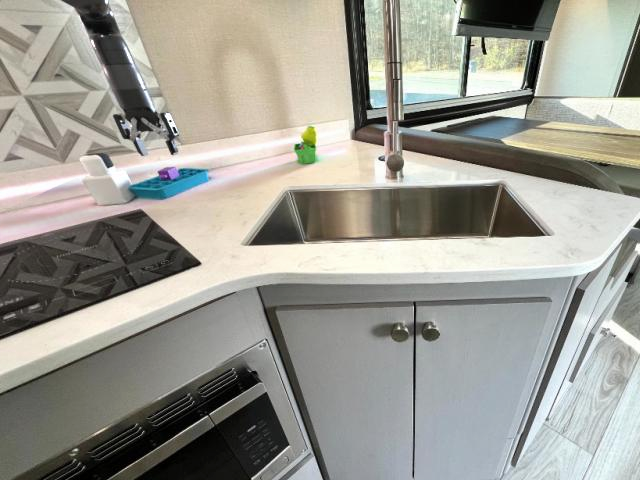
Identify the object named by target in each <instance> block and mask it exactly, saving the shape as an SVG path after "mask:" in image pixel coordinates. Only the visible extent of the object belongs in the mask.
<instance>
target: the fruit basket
mask: <svg viewBox="0 0 640 480" xmlns="http://www.w3.org/2000/svg"><path fill="white" fill-rule="evenodd" d="M317 135H318V132H317V130H316V127H315V126H313V125H308V126H307V128H306V129H305V130H304V131H303V133H302V134H301V135H300V136H301V141H300V143H299V142H298V143H294V144H293V151H294V153H295V154H296V157H297V159H298V161H299V163H300V164H301V165H307V164H316V154H317V152H316V151H317V143H318V136H317Z"/></svg>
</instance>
